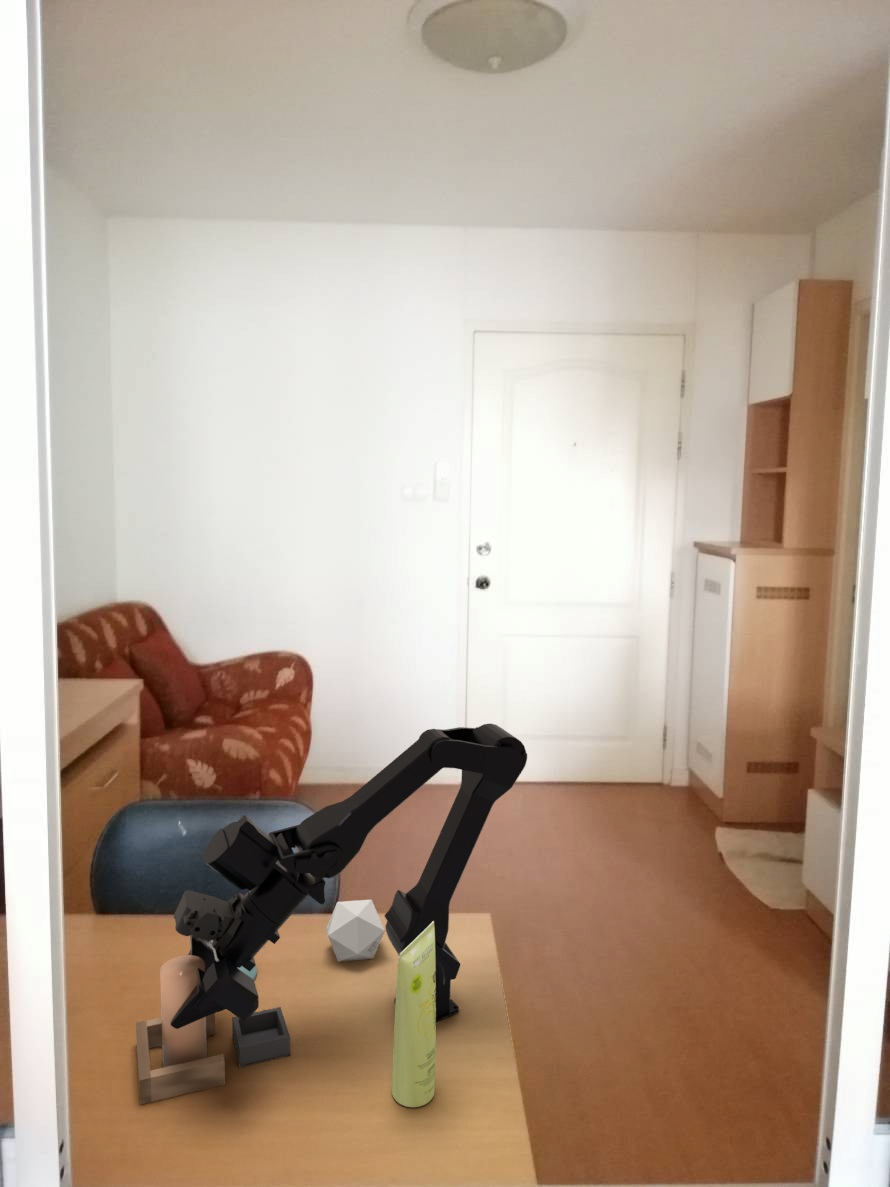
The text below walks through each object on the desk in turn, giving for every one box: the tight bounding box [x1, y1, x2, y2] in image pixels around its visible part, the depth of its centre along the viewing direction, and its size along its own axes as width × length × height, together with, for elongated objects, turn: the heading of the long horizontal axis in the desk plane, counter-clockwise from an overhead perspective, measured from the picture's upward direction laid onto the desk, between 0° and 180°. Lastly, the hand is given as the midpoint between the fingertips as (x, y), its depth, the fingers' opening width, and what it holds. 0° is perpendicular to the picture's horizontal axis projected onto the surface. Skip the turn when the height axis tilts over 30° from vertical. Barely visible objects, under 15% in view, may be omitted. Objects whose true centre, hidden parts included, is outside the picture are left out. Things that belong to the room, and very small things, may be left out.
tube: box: [391, 921, 437, 1108], centre depth 94 cm, size 6×5×20 cm
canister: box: [159, 954, 208, 1068], centre depth 99 cm, size 5×5×12 cm
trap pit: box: [231, 1006, 291, 1068], centre depth 103 cm, size 6×6×2 cm
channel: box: [135, 1013, 226, 1106], centre depth 99 cm, size 9×10×3 cm
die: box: [325, 899, 386, 962], centre depth 122 cm, size 8×9×10 cm
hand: (171, 1012), depth 98 cm, fingers closed on canister, 5 cm apart
